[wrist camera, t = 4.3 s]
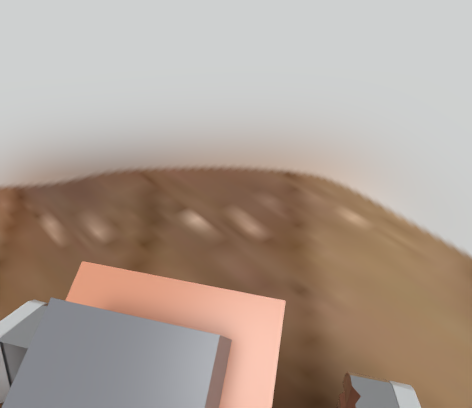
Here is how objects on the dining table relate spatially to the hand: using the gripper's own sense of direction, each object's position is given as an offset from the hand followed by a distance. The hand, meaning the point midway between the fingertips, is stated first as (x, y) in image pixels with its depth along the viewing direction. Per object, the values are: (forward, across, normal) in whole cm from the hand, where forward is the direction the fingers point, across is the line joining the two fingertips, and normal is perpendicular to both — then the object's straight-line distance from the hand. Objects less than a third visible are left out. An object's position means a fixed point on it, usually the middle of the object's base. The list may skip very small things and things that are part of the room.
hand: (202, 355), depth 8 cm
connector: (+4, 0, -5) cm, 6 cm away
